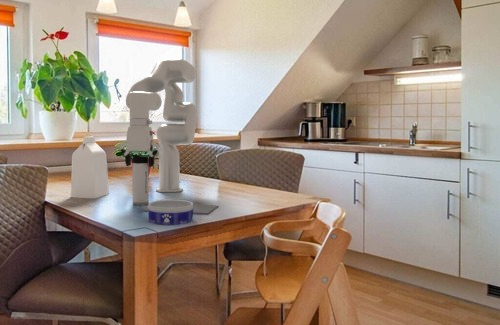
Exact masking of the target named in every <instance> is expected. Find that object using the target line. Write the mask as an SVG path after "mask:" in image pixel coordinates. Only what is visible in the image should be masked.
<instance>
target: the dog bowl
mask: <svg viewBox="0 0 500 325" xmlns="http://www.w3.org/2000/svg"><path fill="white" fill-rule="evenodd" d="M193 204H194V202H192V201H189V200H186V199H183V200H181V199H160V200H155V201H153V200H152V201H151V202H149V203H148V204H147V206H148V211H147V213H148V214H147V215H148V217H147V218H148V222H149V223H150V224H152V225H159V226H178V225H179V226H180V225H186V224H189V223H191V222H193V220H194V214H193Z"/></svg>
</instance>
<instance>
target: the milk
mask: <svg viewBox="0 0 500 325" xmlns="http://www.w3.org/2000/svg"><path fill="white" fill-rule="evenodd" d="M107 160H108V159H107V153H106V151H105V150H104V149H103V148H102V147H101V146H100V144H98V143H96V138H95V136H92V135H91V136H84V137H83V141H82V143H81V144H80V145H79V147H77V149H75V150H74V151H73V152H72V155H71V175H70V176H71V182H70V183H71V184H70V185H71V186H70V188H71V189H70V197H71V198H80V199H81V198H82V199H98V198H101V197H105V196H107V195H109V194H110V188H109V187H110V186H109V175H108V163H107V162H108V161H107Z"/></svg>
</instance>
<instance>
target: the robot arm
mask: <svg viewBox="0 0 500 325" xmlns="http://www.w3.org/2000/svg"><path fill="white" fill-rule="evenodd" d="M196 76H197V74H196V69H195V67H194V65H193V64H192V63H190V62H188V61H187V60H185V59H182V58H161V59H160V60H157V62H156V63H155V65H154V67H153V68H152V70H151V72H150V73H149V75H148V76H147V77H144V78H143V79H140V80H138V81H137V82H136V83H134V84H133V85H132V86H131V87H130V89H129V91H128V92H127V94H126V96H125V97H126V98H125V105H126V107H127V109H128V110H129V126H128V127H127V131H126V140H125V141H124V142H122V143H120V144H118V148H119V149H120V152H121V153H122V154H123V157H124V158H125V161H124V164H125V167H129V166H132V157H131V155H132V153H133V152H134V153H135V152H139V153H141V152H143V153H147V154H148V155H149V156H148V168H151V167H154V165H155V157H156V155H157V154H158V167H159V168H158V175H159V176H158V178H159V179H158V180H159V181H158V182H159V183H158V184H159V185H158V187H156V188H155V191H156V192H159V193H179V192H180V193H181V192H182V191H183V190H184V187H182V186H180V185H181V180H180V179H181V178H180V176H181V175H180V174H181V173H180V168H181V167H180V164H181V163H180V151H179V149H178V148H177V146H176V145H191V144H193V142H194V140H195V136H196V135H195V134H196V125H197V119H198V118H197V117H198V112H197V106H196V105H195V104H194V103H193V102H187V101H185V102H183V101H184V92H183V90H182V89H181V88H180V87H179V85H178V84H177V83H179V84H180V83H181V84H182V83H183V84H184V83H185V84H186V83H188V84H189V83H193V82H194V81H195V79H196ZM162 91H164V94H165V96H164V104H163V109H162V110H163V111H162V117H163V120H164V121H166V122H167V123H164V124H161V125H159V126H158V127H157V129H156V138H157V142H155V141H154V136H153V135H154V134H153V129H152V126H151V125H153V120H150V112H151V111H152V112H155V111H157V110H159V109H160V107H161V106H162V103H163V102H162V97H161V96H160V94H158V93H159V92H162ZM125 147H126V148H125ZM154 149H155V150H154Z"/></svg>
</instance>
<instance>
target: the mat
mask: <svg viewBox="0 0 500 325" xmlns="http://www.w3.org/2000/svg"><path fill="white" fill-rule="evenodd" d="M217 208H219V205H217V204H216V205H215V204H198V203H197V204H196V203H195V204H194V203H193V215H209V214H211V213H212V212H213V211H215V210H216V209H217ZM140 212H148V205H147V206H145V207H143V208H141V209H140Z"/></svg>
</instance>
